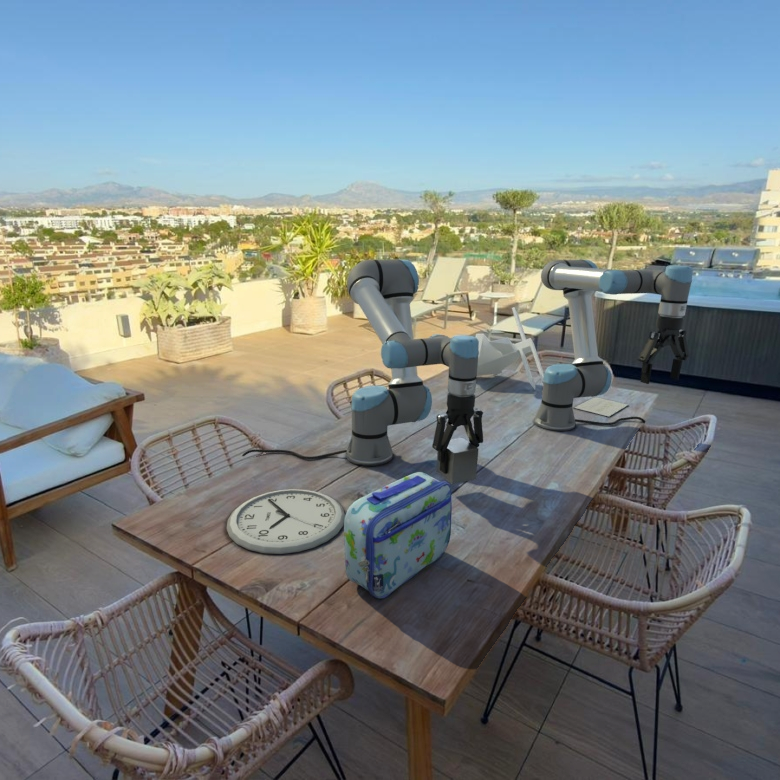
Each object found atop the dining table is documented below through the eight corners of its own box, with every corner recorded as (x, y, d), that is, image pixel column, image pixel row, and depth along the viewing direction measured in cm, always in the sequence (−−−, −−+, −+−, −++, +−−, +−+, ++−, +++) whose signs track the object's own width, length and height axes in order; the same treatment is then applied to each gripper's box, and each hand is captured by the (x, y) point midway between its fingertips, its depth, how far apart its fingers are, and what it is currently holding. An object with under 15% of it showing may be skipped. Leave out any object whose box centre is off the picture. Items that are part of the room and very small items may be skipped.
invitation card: (608, 416, 214) (573, 407, 224) (608, 416, 214) (573, 408, 224) (628, 404, 229) (594, 396, 238) (628, 405, 229) (594, 397, 238)
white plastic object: (482, 418, 266) (461, 395, 241) (463, 346, 288) (443, 318, 264) (553, 394, 254) (538, 368, 229) (528, 321, 276) (512, 289, 251)
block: (436, 471, 151) (438, 441, 148) (459, 466, 155) (461, 437, 152) (451, 484, 144) (453, 453, 141) (476, 479, 147) (478, 448, 145)
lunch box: (372, 611, 103) (373, 518, 97) (338, 585, 111) (336, 497, 104) (455, 557, 121) (460, 475, 115) (420, 537, 128) (424, 459, 122)
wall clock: (345, 545, 122) (213, 550, 119) (345, 551, 122) (214, 556, 120) (344, 484, 150) (238, 487, 148) (345, 490, 151) (239, 492, 148)
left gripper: (435, 401, 134) (431, 481, 141) (501, 392, 143) (494, 467, 150) (421, 393, 141) (417, 469, 148) (485, 384, 149) (479, 457, 156)
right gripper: (652, 320, 156) (641, 387, 163) (709, 315, 166) (696, 379, 172) (632, 316, 163) (622, 381, 169) (687, 312, 173) (676, 374, 179)
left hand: (456, 468), depth 149 cm, fingers closed on block, 8 cm apart
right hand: (659, 380), depth 171 cm, fingers open, 13 cm apart
